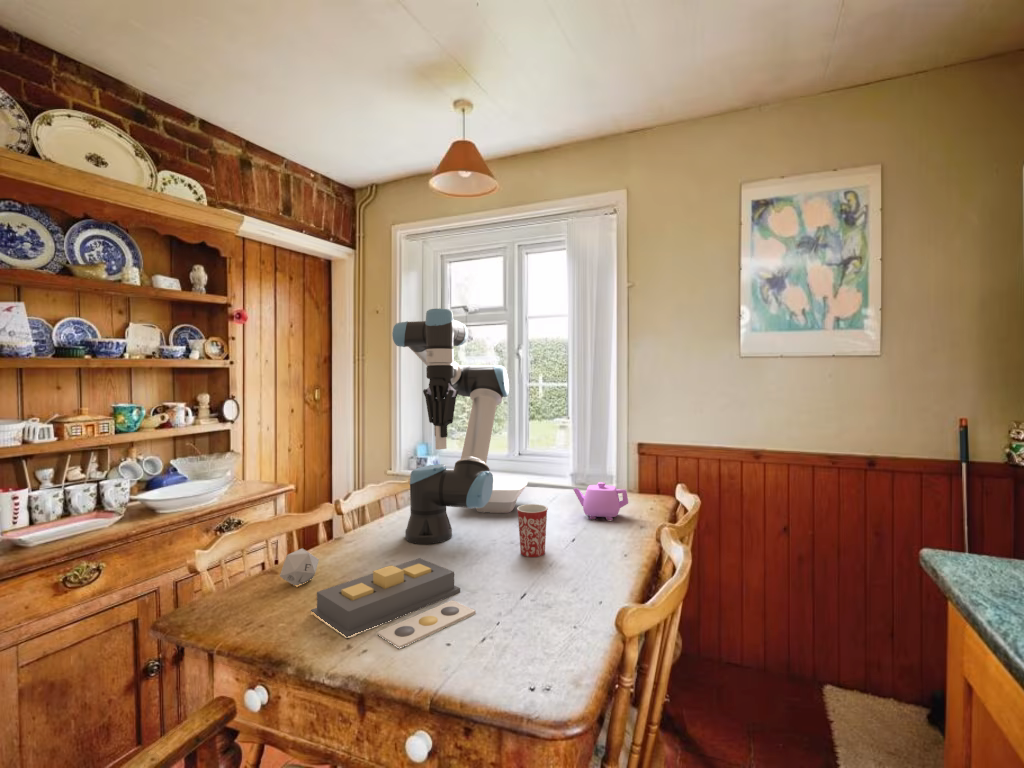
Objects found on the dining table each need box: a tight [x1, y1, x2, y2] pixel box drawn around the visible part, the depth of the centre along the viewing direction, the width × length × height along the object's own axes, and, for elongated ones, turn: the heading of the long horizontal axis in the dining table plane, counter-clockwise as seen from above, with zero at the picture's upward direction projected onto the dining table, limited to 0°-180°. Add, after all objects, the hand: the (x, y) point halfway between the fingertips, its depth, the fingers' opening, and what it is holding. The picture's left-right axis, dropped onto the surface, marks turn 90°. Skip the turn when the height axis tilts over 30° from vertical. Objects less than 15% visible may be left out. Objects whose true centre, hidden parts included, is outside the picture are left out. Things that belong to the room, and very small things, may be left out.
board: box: [310, 557, 461, 637], centre depth 119 cm, size 16×30×5 cm, turn 137°
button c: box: [402, 564, 431, 578], centre depth 124 cm, size 5×5×4 cm
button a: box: [341, 583, 374, 601], centre depth 113 cm, size 5×5×4 cm
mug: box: [516, 503, 549, 558], centre depth 152 cm, size 13×9×14 cm
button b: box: [372, 564, 404, 589], centre depth 119 cm, size 5×5×4 cm
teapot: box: [573, 481, 629, 521], centre depth 188 cm, size 20×12×13 cm, turn 75°
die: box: [279, 547, 320, 586], centre depth 131 cm, size 8×9×10 cm
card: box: [376, 599, 477, 648], centre depth 108 cm, size 8×20×1 cm, turn 137°
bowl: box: [475, 476, 528, 514], centre depth 202 cm, size 24×25×10 cm
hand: (441, 448), depth 142 cm, fingers closed
